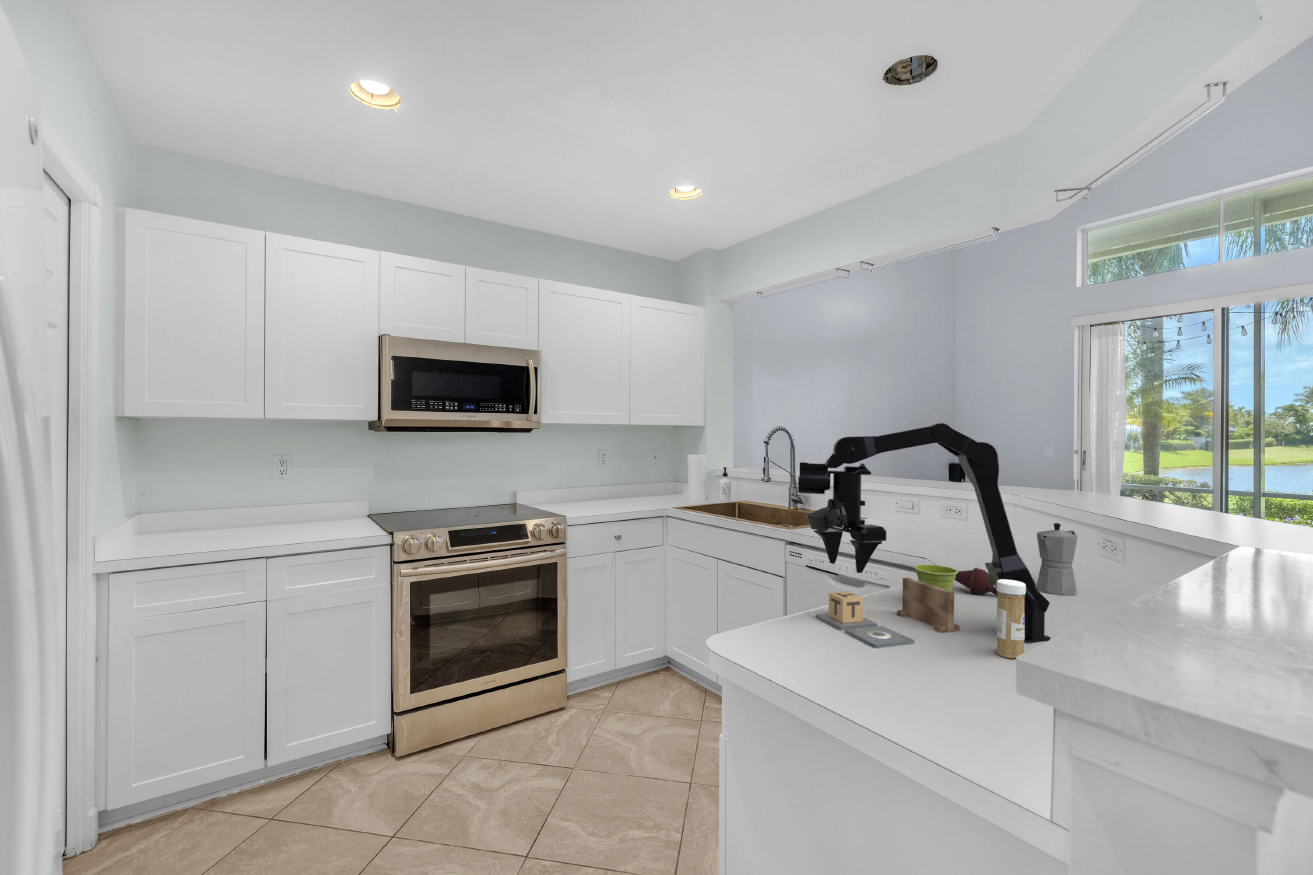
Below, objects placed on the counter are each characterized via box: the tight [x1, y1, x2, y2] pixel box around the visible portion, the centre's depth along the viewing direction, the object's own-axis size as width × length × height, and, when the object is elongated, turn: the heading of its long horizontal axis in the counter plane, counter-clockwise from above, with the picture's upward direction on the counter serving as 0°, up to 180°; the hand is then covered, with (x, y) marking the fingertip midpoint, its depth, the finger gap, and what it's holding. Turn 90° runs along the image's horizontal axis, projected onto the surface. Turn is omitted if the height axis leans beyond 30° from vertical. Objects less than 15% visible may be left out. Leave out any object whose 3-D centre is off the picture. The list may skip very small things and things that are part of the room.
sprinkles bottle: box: [995, 579, 1026, 660], centre depth 105 cm, size 5×5×14 cm
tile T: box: [814, 612, 878, 631], centre depth 124 cm, size 9×9×1 cm
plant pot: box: [913, 564, 958, 592], centre depth 138 cm, size 9×9×9 cm
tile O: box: [844, 625, 915, 649], centre depth 114 cm, size 9×9×1 cm
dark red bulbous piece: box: [954, 567, 998, 596], centre depth 149 cm, size 7×7×15 cm
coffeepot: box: [1036, 522, 1078, 597], centre depth 153 cm, size 15×9×18 cm, turn 118°
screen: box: [896, 577, 961, 633], centre depth 124 cm, size 13×5×8 cm, turn 18°
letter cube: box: [828, 591, 864, 623], centre depth 124 cm, size 5×5×5 cm
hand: (845, 567), depth 124 cm, fingers open, 9 cm apart
